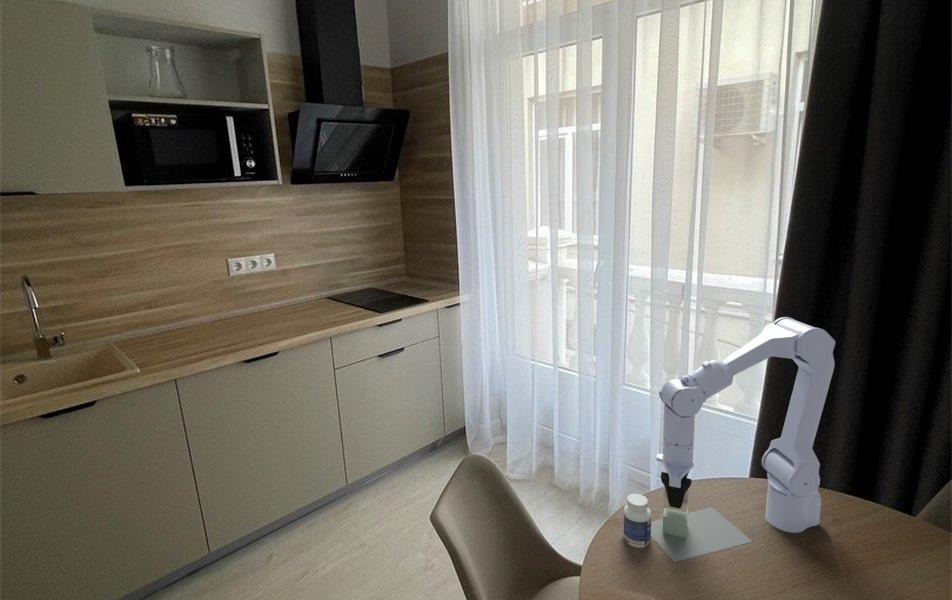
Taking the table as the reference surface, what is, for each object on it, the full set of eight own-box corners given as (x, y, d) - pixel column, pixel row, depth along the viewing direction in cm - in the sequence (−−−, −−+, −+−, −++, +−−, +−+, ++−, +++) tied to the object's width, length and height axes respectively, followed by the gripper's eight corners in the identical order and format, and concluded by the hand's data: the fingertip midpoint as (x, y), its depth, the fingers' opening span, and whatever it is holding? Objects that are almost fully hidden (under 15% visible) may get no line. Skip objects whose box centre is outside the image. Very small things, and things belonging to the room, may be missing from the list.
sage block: (664, 519, 105) (665, 503, 104) (687, 524, 103) (687, 508, 102) (662, 532, 101) (663, 515, 100) (686, 538, 99) (686, 521, 98)
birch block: (665, 495, 103) (666, 476, 102) (687, 500, 101) (688, 481, 100) (663, 507, 99) (664, 488, 99) (686, 512, 98) (687, 493, 97)
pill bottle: (652, 552, 97) (653, 508, 95) (624, 549, 98) (624, 506, 96) (648, 533, 102) (649, 492, 100) (622, 531, 103) (622, 490, 101)
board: (711, 510, 108) (712, 507, 108) (752, 545, 97) (752, 541, 97) (640, 527, 104) (640, 524, 104) (674, 565, 93) (674, 562, 93)
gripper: (660, 420, 105) (658, 477, 108) (653, 453, 93) (651, 515, 96) (696, 425, 102) (693, 483, 105) (693, 460, 90) (690, 524, 93)
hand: (676, 499), depth 100 cm, fingers closed on birch block, 4 cm apart
